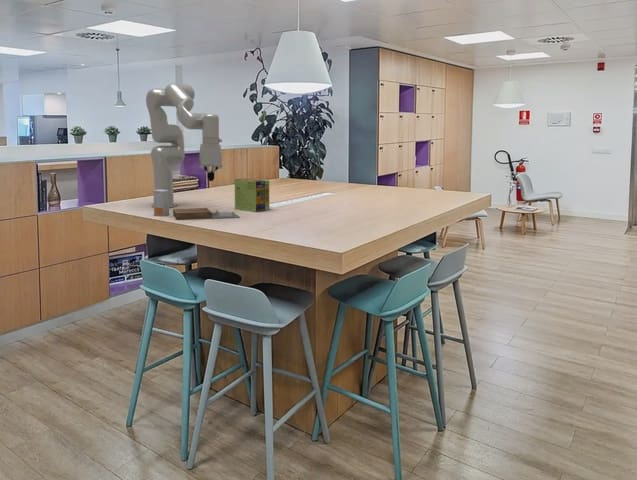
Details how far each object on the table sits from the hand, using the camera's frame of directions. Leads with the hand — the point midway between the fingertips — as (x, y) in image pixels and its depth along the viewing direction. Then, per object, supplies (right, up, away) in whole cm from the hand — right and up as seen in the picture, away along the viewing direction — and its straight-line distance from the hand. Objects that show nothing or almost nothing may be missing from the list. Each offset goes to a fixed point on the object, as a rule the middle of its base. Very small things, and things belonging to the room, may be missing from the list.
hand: (210, 180), depth 263 cm
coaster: (+5, -14, +4) cm, 16 cm away
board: (-9, -17, 0) cm, 19 cm away
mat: (+5, -16, +5) cm, 18 cm away
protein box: (+16, -12, +26) cm, 33 cm away
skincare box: (-24, -16, +3) cm, 29 cm away
